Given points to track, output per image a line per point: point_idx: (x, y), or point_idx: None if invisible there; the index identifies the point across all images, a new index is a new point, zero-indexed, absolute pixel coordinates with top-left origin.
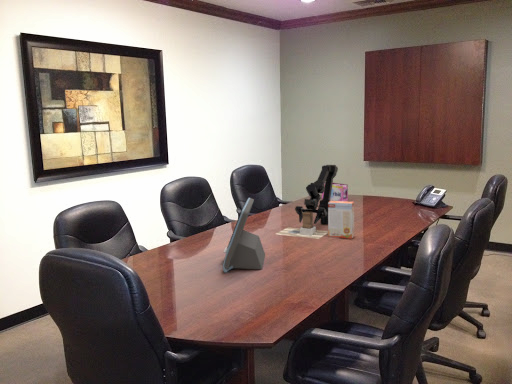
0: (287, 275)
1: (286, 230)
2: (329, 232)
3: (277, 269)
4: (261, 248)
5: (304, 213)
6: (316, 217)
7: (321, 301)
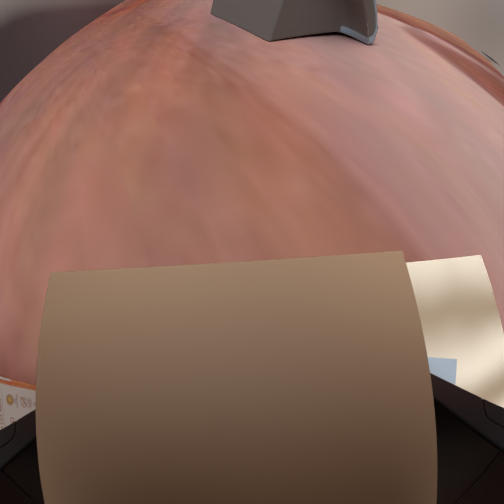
0: (148, 21)
1: (489, 401)
2: (16, 381)
3: (178, 21)
4: (257, 6)
5: (313, 269)
6: (20, 429)
7: (90, 23)
